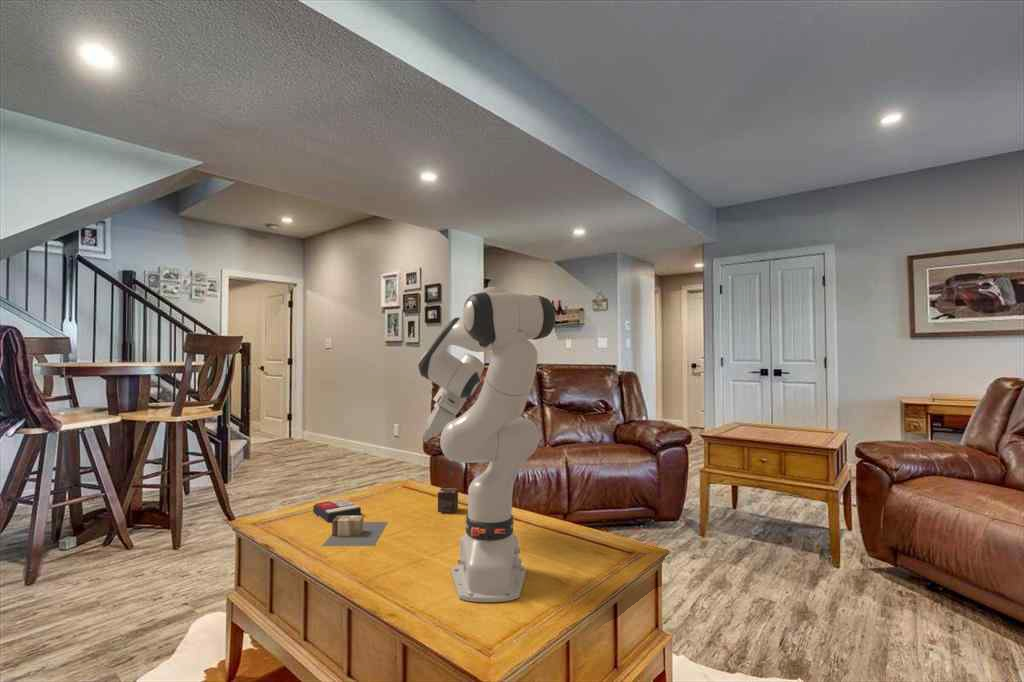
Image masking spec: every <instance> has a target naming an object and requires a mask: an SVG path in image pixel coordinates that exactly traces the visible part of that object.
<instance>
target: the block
mask: <svg viewBox="0 0 1024 682" xmlns="http://www.w3.org/2000/svg"><path fill="white" fill-rule="evenodd" d="M363 522H364V515H361V516H336V517H335V518H334V519H333V521H332V522H331V523H332V527H331V528H332V529H331V534H332V536H360V534H361V533H362V531H363Z"/></svg>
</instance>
